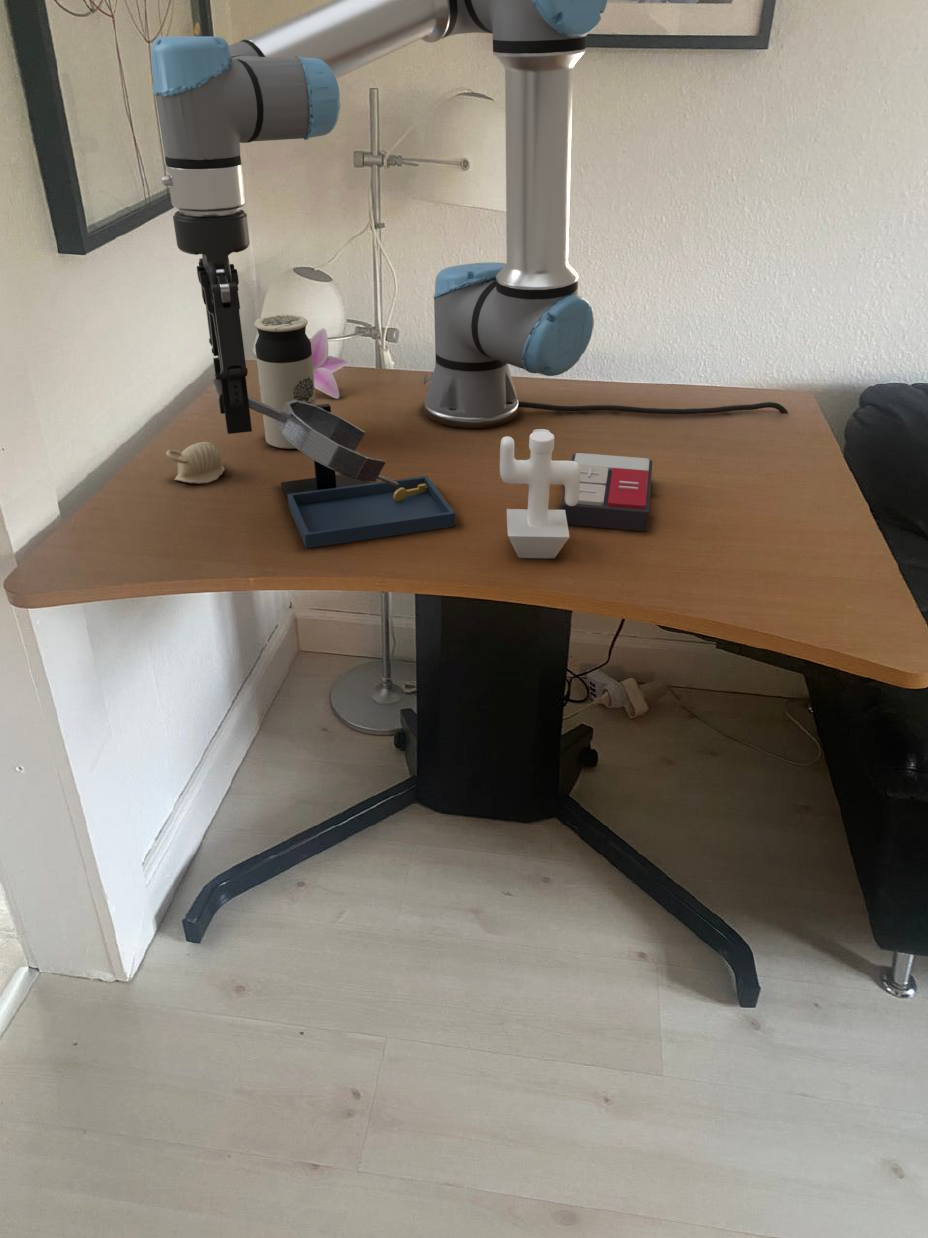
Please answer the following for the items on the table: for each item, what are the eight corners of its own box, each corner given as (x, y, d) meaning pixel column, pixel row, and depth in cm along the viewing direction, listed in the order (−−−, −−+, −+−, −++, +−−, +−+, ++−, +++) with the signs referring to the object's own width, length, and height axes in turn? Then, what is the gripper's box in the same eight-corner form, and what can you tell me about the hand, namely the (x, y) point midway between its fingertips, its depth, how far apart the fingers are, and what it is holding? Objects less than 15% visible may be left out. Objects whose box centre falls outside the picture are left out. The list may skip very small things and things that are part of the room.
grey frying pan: (359, 450, 127) (370, 429, 126) (388, 495, 115) (400, 472, 114) (203, 380, 116) (214, 357, 115) (217, 422, 104) (229, 397, 103)
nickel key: (358, 464, 116) (357, 467, 116) (364, 472, 115) (363, 475, 115) (394, 479, 120) (393, 481, 120) (400, 486, 118) (399, 489, 119)
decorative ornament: (232, 476, 134) (227, 440, 132) (176, 491, 130) (170, 455, 127) (218, 467, 137) (213, 431, 134) (163, 482, 132) (157, 445, 130)
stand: (359, 478, 134) (355, 392, 127) (368, 492, 130) (364, 404, 123) (281, 488, 131) (272, 400, 124) (288, 503, 127) (278, 413, 120)
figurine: (576, 564, 114) (586, 446, 106) (497, 563, 114) (501, 444, 106) (571, 536, 120) (580, 422, 112) (496, 535, 120) (500, 421, 112)
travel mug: (256, 438, 146) (242, 319, 137) (301, 426, 150) (291, 310, 141) (282, 454, 141) (269, 332, 131) (328, 441, 145) (319, 322, 136)
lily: (263, 403, 162) (267, 362, 154) (283, 357, 169) (289, 315, 161) (330, 425, 164) (339, 386, 156) (349, 379, 170) (357, 339, 162)
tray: (427, 488, 131) (427, 475, 130) (455, 526, 122) (455, 513, 121) (288, 506, 126) (287, 493, 125) (306, 548, 116) (304, 534, 115)
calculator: (561, 498, 120) (573, 447, 132) (559, 528, 123) (571, 475, 135) (649, 506, 119) (653, 454, 131) (646, 536, 121) (649, 482, 133)
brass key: (396, 490, 125) (395, 488, 125) (393, 502, 126) (391, 501, 126) (428, 483, 129) (427, 481, 129) (425, 495, 130) (423, 493, 130)
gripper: (165, 196, 106) (195, 398, 118) (179, 228, 91) (212, 455, 103) (234, 193, 108) (256, 391, 120) (259, 224, 93) (281, 447, 105)
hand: (235, 420), depth 112 cm, fingers closed on grey frying pan, 6 cm apart
